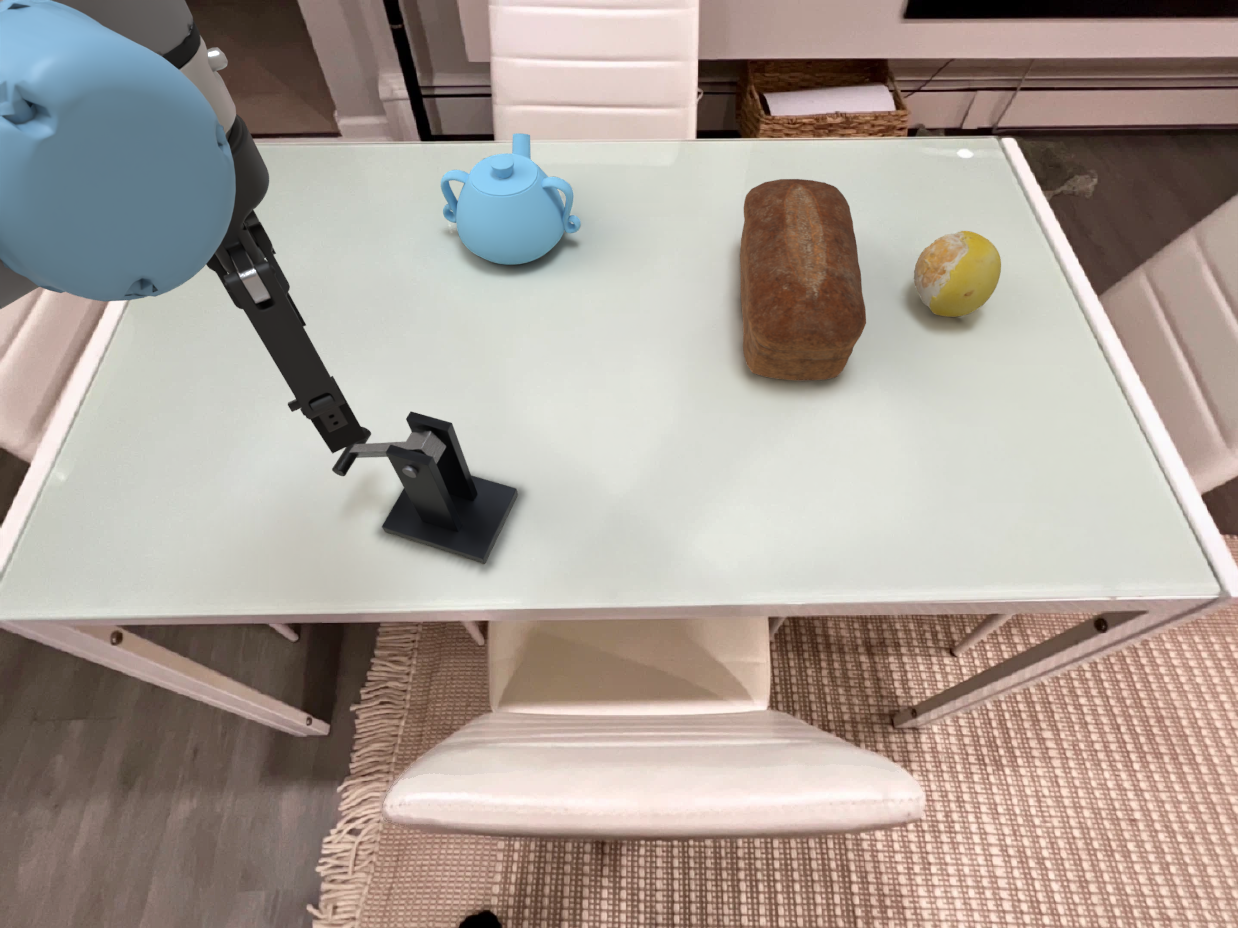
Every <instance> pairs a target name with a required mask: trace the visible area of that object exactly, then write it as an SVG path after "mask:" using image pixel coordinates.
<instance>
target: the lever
mask: <svg viewBox="0 0 1238 928" xmlns="http://www.w3.org/2000/svg"><path fill="white" fill-rule="evenodd" d="M361 428H362V430H363V431H364V433H365V435H366V437H367V438H364V439H362V440H360V441H358V442H356V443H354V444H352V445H350V446H348V447H345V448H343V451H342V452H341V454H340V456H339V457H338V459H337V460H336V462H335V463H334V465H333V466H332V468H331V471H332V472H333V474H336V475H337V476H340V477H346V475H347V473H348V472H349V471H350V469H351V468H352V466H353V464H354V463H355V462H356V459H365V458H368V459H369V458H388V457H387V455H386V451H387V449H388V448H389V446H390V445H394V446H398V447H401V448H405V449H408V450H411V451H415V452H418V453H422V454H425V455H429V456H432V457H433V458H434V461H435V463H436V464H437V462H438V461H439V459H440V457H441V455H442V453H443V452H444V450H445V448H446V445H445V444H444V443H443V442H442V441H441V440H440V439H439V438H438V437H437V436H436V435H435V434H433V433H432V432H431V431H424V432H411V433H410V434H409V435H408V437H407V439H406V441H387V442H372V443H371V442H370V443H367V442H368V440H369V439H370V437H371V436H372V432H371V430H370V429H368V428H367V427H364V426H361Z"/></svg>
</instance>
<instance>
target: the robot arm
mask: <svg viewBox="0 0 1238 928" xmlns="http://www.w3.org/2000/svg"><path fill="white" fill-rule="evenodd" d="M228 63H229V60H228V59H227V57H226V54H225V53H224V52H223V51H222V50H221V49H220V48H219V47H211V48H207V46H206V42H205V41H204V39H203V37H202V36H201V33H200V29H199V28H198V26H197V24H196V22H195V20H194V17H193V15H192V13H191V10H190V8H189V6H188V4H187V1H186V0H0V310H2V309H4V308H6V307H8V306H9V305H11V304H13V303H14V302H16V301H18V300H19V299H21V298H23V297H25V296H26V295H28V294H29V293H32V292H33V291H35V290H37V289H38V288H41V289H44V290H47V291H50V292H55V293H59V294H63V293H67V294H70V295H73V296H75V297H78V298H83V299H86V300H91V301H99V302H104V303H105V302H123V301H133V300H138V299H144V298H147V297H153V298H154V297H155V298H156V297H158V296H161V295H163V294H167V293H168V292H171V291H173V290H175V289H178V288H179V287H181V286H182V285H184V284H185V283H187V282H188V281H190V280H191V279H192V278H194V277H195V276H196V275H197V274H198V273H200V271H201V270H203V269H204V267H206V266H207V268H208V269H209V270H211V271H213V272H214V273H215V274H216V275H217V277H218V279H219V281H220V282H221V284H222V286H223V287H224V289H225V291H226V293H227V294H228V296H229V298H230V299H231V301H232V303H233V305H234V306H235V307H236V308H237V309H239V310H243V311H244V313H245V315H246V317H247V318H248V320H249V322H250V323H251V326H252V327H253V328H254V330H255V332H256V334H257V335H258V337H259V339H260V340H261V342H262V343H263V346H264V347H265V349H266V350H267V352H268V354H269V355H270V357H271V359H272V360H273V362H274V364H275V366H276V367H277V369H278V371H279V372H280V374H281V376H282V377H283V379H284V382H285V383H286V384H287V386H288V387H289V390H290V391H291V392H292V395H293V396H294V398H295V399H293V400H291V401H288V402H287V406H288V408H289V410H290V411H291V412H295V411H297V410H300V412H301V413H302V416H303V417H305V418H306V419H308V420H310V421H311V423H312V425H313V426H314V428H315V429H316V431H317V432H318V434H319V436H320V437H321V438H322V440H323V442H324V444H325V445H326V447H327V448H328V449H329V451H330V453H331V454H335V453H337V452H339V451H342V450H344V449H345V448H346V447H348V446H350V445H352V444H354V443H356V442H358V441H360V440H362V439H364V438H367V437H366V435H365V433H364V431H363V430H362V428H361V427H362V425H361V424H360V423H359V420H358V419H357V417H356V415H355V414H354V411H353V410H352V408H351V406H350V404H349V403H348V401H347V399H346V397H345V395H344V394H343V392H342V390H341V388H340V386H339V385H338V382H337V381H336V379H335V377H334V376H333V375H332V376H331V375H330V373H329V371H328V369H327V368H326V366H325V364H324V362H323V360H322V358H321V356H320V355H319V352H318V351H317V349H316V347H315V345H314V344H313V342H312V340H311V338H310V336H309V335H308V333H307V331H306V329H305V327H306V326H307V323H306V322H305V319H304V318H303V316H302V314H301V313H300V310H299V309H298V307H297V306H296V303H295V302H294V300H293V298H292V296H291V294H290V293H289V291H290V289H291V285H290V283H289V281H288V279H287V277H286V275H285V273H284V272H283V270H282V268H281V266H280V264H279V262H278V261H277V259H276V257H275V255H276V254H277V253H276V250H275V249H274V246H273V242H272V240H271V239H270V237H269V235H268V234H267V232H266V229H265V228H264V225H263V224H262V222H261V221H260V219H259V217H258V215H257V214H256V212H255V209H256V208H257V207H258V206H259V205H260V204H261V203H262V201H263V200H264V199H265V196H266V194H267V193H268V190H269V187H270V173H269V169H268V167H267V165H266V163H265V161H264V159H263V157H262V155H261V152H260V151H259V148H258V147H257V144H256V142H255V141H254V138H253V136H252V135H251V132H250V131H249V128H248V126H247V123H246V122H245V120H244V119H243V118H242V117H241V116H240V115H239V114H237V107H236V104H235V103H234V100H233V99H232V96H231V94H230V92H229V90H228V88H227V86H226V84H225V81H224V79H223V78H222V76H221V75H220V73H219V72H217V71H220V70H224V69H225V68H226V67H227V66H228Z"/></svg>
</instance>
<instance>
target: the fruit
mask: <svg viewBox="0 0 1238 928" xmlns="http://www.w3.org/2000/svg"><path fill="white" fill-rule="evenodd" d="M1000 255H1001V254H1000V253H999V250H998V249H997V247H996V246H995V244H994V243H992V241H990V239H988V238H987V237H985V236H983V235H981V234H980V233H978V232H974V231H971V230H961V231H957V232H956V233H948V234H944V235H942V236H940V237H938V238H936V239H935V240H934V241H933V242H931V243H930V244H929V246H927V247H925V248H924V249H923V251H922V252H921V253H920V254H919V256H918V258H917V260H916V263H915V265H914V270H913V283H914V287H915V289H916V292H917V294H918V295H919V297H920V300H921V302H922V304H923V305H925V306H926V307H928V308H929V310H930V311H931V313H932V314H933V315H936V316H941V317H946V318H947V317H948V318H954V317H955V318H956V317H962V316H966V315H969V314H972V313H974V312H975V311H976V310H979V308H981V307H983V305H984V304H985V303H987V302H988V301H989V300H990V298H991V297H992V295H993V294H994V292H995V290H996V288H997V286H998V284H999V281H1000V277H1001V272H1002V260H1001V259H1002V258H1001V256H1000Z"/></svg>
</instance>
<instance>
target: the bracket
mask: <svg viewBox="0 0 1238 928" xmlns="http://www.w3.org/2000/svg"><path fill="white" fill-rule="evenodd" d="M405 421H406V423H407V426H408V427H409V430H410V432H411V433H412V432H424V431H431V432H432V433H433V434H435V435H436V436H437V437H438V438H439V439H440V440H441V441H442V442H443V443H444V444H445V445H446V448H445V450H444V452H443V453H442V455H441V457H440V459H439V461H438V462H437V464H436V463H435V461H434V458H433V457H432V456H429V455H425V454H422V453H418V452H415V451H411V450H408V449H405V448H401V447H398V446H394V445H390V446H389V448H388V449H387V451H386V455H387V457H386V458H387V459H388V460H389V462H390V465H391V466H392V468H393V470H394V472H395V473H396V475H397V477H398V479H399V481H400V483H401V485H402V487H403V489H402V491H401V492H400V494H399V495H398V497H397V499H396V501H395V502H394V504H393V506H392V508H391V509H390V511H389V513H388V514H387V517H386V518H385V520H384V522H383V523H382V525H381V528H382V530H383V531H384V533H387V534H390V535H393V536H396V537H400V538H403V539H406V540H409V541H412V542H416V543H418V544H423V545H424V546H428V547H431V548H434V549H438V550H440V551H444V552H447V553H450V554H453V555H456V556H460V557H463V558H466V559H468V560H472V561H475V562H479V563H481V564H486V563H487V561H488V558H489V556H490V554H491V553H492V550H493V548H494V546H495V544H496V543H497V540H498V537H499V535H500V533H501V531H502V529H503V527H504V524H505V523H506V520H507V518H508V516H509V514H510V512H511V510H512V508H513V506H514V503H515V501H516V500H517V497H518V496H519V493H518V489H517V488H516V487H513V486H509V485H506V484H502V483H499V482H496V481H493V480H490V479H489V480H488V479H485V478H482V477H478V476H476V475H473V474H472V473H471V471H470V468H469V465H468V462H467V460H466V457H465V455H464V452H463V449H462V447H461V446H462V445H461V444H460V441H459V439H458V435H457V432H456V430H455V427H454V424H453V422H451V421H447V420H443V419H440V418H436V417H434V416H429V415H425V414H422V413H418V412H415V411H409V413H408V415H407V416H406V418H405Z"/></svg>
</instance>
